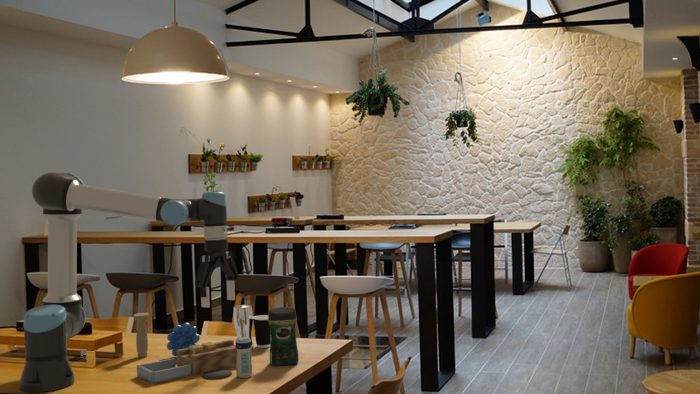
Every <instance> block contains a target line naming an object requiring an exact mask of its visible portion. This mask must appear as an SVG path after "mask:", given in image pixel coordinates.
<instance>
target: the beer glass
mask: <svg viewBox="0 0 700 394" xmlns="http://www.w3.org/2000/svg"><path fill="white" fill-rule="evenodd" d="M253 312H254V311H253V308H252V304H240V305H239V304H238V305H235V306H233V323H234V329H235V333H236V336H237V337H236V339H237V338H238V337H250V340H251V349H252V348H253V347H254V342H253V341H254V340H253V329H254V328H253V327H254V320H253V317H254V314H253Z"/></svg>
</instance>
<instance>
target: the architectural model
mask: <svg viewBox="0 0 700 394" xmlns="http://www.w3.org/2000/svg"><path fill="white" fill-rule="evenodd" d="M83 355H86V350H80V357H81V356H83Z"/></svg>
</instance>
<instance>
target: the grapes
mask: <svg viewBox="0 0 700 394" xmlns="http://www.w3.org/2000/svg"><path fill="white" fill-rule="evenodd" d="M197 332H198V328H197V326H195V325H194V326H193V325H192V326H191V324H190V323H189V322H184V323H183V324H182V325H179V324H177V325H175V326H174V327H173V329H172V332H170V333H168V334H167V341H168V343H167V344H166V348H167V350H168V351H171V355H172V356H173V357H177V350H179V349H184V348H189V346H192V345H197V344H196V343H198V342H200V340H201V339H200V338H201V337H200V334H197Z"/></svg>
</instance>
